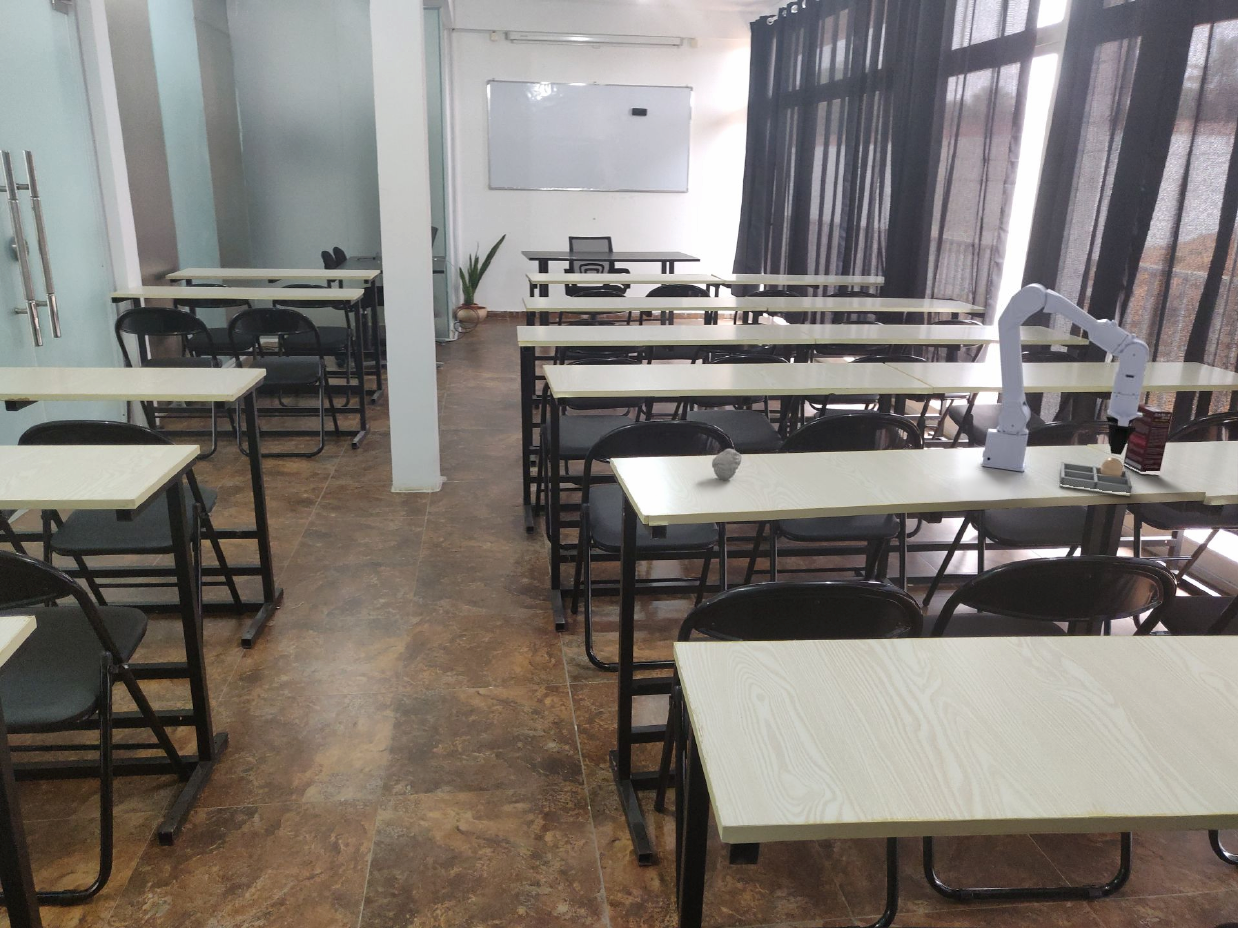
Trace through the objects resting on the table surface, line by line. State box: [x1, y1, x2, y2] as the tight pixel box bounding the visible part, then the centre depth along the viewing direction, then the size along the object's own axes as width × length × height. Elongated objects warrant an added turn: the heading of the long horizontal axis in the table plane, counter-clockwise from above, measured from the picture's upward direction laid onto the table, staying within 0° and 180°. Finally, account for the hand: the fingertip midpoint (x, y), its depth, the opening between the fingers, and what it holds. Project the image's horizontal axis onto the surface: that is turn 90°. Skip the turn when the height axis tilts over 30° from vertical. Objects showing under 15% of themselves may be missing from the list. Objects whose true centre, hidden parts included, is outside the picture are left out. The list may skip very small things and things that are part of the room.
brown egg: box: [1100, 457, 1124, 477], centre depth 208 cm, size 4×4×5 cm
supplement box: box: [1123, 403, 1173, 472], centre depth 217 cm, size 9×5×16 cm, turn 179°
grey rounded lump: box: [711, 448, 742, 481], centre depth 201 cm, size 6×7×7 cm
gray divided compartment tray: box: [1059, 461, 1133, 493], centre depth 207 cm, size 14×14×2 cm
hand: (1114, 450), depth 207 cm, fingers open, 7 cm apart
